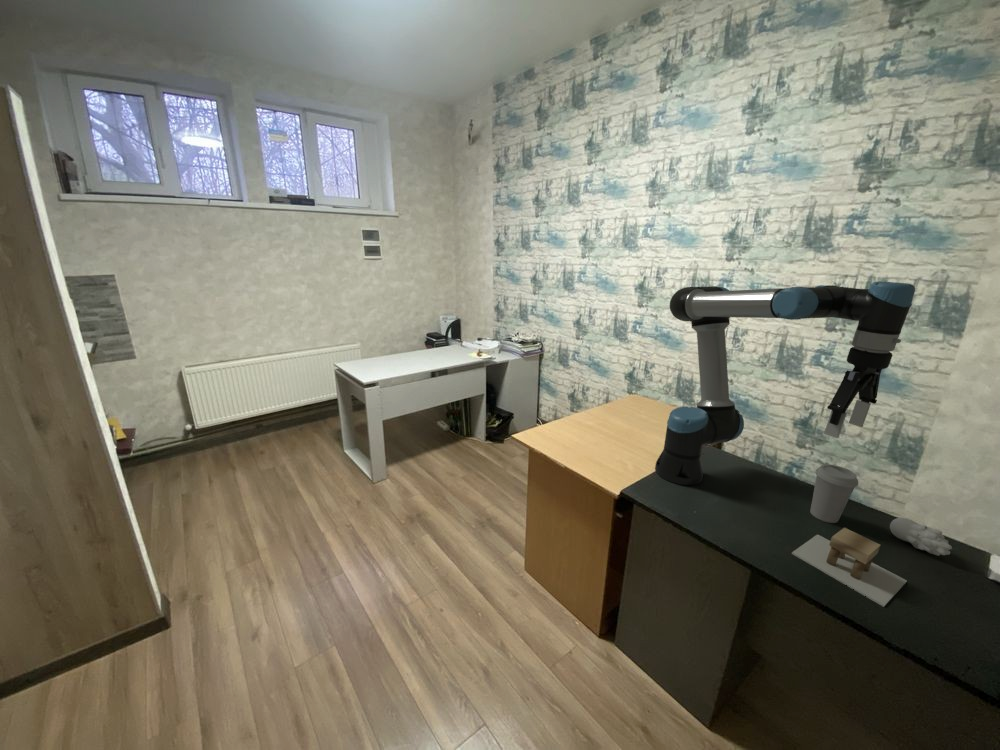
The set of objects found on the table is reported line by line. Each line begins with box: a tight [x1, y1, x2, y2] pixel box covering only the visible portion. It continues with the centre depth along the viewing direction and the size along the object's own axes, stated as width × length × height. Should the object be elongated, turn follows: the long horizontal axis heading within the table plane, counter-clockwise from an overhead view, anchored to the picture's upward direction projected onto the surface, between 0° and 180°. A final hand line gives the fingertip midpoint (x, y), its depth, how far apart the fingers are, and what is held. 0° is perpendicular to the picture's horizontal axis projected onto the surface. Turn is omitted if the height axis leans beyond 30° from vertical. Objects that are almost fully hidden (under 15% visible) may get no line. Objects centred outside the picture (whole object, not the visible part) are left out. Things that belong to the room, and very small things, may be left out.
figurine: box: [889, 517, 953, 556], centre depth 102 cm, size 7×7×12 cm
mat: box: [791, 534, 908, 608], centre depth 95 cm, size 18×14×1 cm
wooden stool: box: [826, 527, 881, 579], centre depth 94 cm, size 7×7×8 cm
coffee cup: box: [809, 463, 859, 524], centre depth 112 cm, size 10×10×15 cm
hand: (843, 430), depth 98 cm, fingers open, 13 cm apart
